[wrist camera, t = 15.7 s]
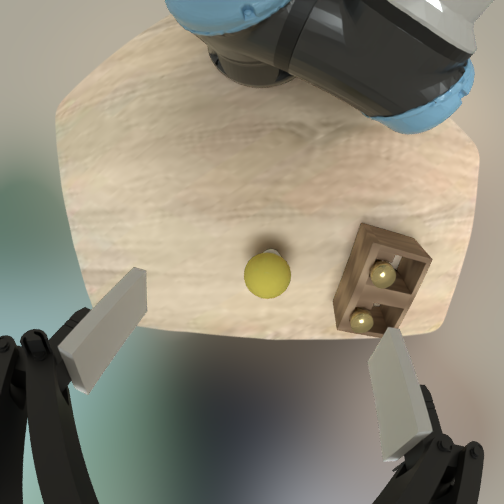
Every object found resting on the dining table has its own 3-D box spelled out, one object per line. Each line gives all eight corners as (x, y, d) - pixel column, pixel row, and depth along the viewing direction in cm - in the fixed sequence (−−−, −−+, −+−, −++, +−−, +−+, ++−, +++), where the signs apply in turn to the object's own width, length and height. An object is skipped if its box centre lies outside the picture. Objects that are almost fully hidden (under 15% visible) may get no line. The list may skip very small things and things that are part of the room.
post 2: (362, 234, 43) (377, 263, 34) (380, 239, 42) (399, 269, 33) (355, 253, 44) (368, 285, 35) (374, 258, 44) (390, 290, 35)
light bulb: (283, 230, 44) (279, 258, 35) (297, 266, 47) (296, 301, 38) (244, 243, 46) (231, 273, 37) (260, 278, 49) (251, 312, 40)
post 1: (346, 277, 46) (356, 313, 37) (364, 281, 46) (377, 317, 37) (340, 294, 48) (347, 331, 39) (357, 297, 47) (367, 334, 38)
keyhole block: (361, 222, 42) (373, 242, 35) (413, 238, 41) (432, 259, 34) (332, 301, 48) (336, 330, 41) (381, 311, 48) (391, 339, 41)
